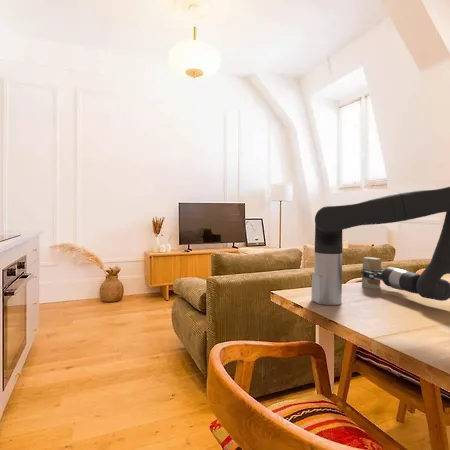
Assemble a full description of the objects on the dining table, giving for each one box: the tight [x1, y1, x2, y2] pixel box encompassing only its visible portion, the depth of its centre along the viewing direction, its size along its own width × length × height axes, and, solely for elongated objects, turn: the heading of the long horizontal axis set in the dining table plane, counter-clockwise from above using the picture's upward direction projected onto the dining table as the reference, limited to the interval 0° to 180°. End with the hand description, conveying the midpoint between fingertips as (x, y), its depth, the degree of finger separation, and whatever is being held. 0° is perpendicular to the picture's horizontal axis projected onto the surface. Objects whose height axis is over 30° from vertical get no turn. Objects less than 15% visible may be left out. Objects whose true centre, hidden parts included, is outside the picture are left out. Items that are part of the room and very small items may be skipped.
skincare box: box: [361, 256, 382, 290], centre depth 142 cm, size 6×4×12 cm
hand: (371, 271), depth 142 cm, fingers open, 8 cm apart
